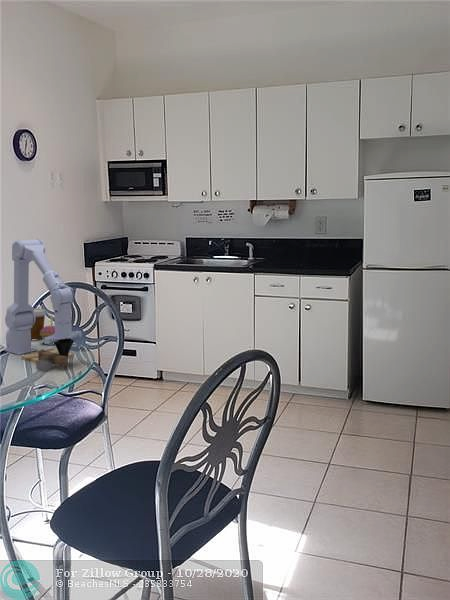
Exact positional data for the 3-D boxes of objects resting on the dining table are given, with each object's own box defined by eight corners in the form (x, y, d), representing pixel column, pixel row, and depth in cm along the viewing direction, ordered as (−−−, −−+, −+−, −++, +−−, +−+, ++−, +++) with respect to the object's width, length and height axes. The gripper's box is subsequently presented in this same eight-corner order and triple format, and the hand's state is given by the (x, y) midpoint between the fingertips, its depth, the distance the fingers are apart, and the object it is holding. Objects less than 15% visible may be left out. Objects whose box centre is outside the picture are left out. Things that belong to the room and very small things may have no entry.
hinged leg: (36, 359, 218) (36, 349, 218) (43, 357, 220) (43, 348, 220) (61, 366, 210) (61, 356, 209) (68, 365, 212) (68, 355, 212)
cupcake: (44, 340, 251) (43, 311, 249) (64, 341, 251) (63, 312, 249) (37, 345, 243) (36, 316, 241) (58, 346, 243) (57, 316, 240)
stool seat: (21, 358, 224) (21, 355, 224) (53, 351, 235) (53, 348, 235) (41, 365, 217) (41, 361, 216) (73, 357, 228) (73, 354, 227)
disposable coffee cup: (39, 342, 248) (38, 313, 246) (18, 340, 250) (17, 311, 248) (50, 337, 257) (50, 309, 255) (29, 335, 259) (29, 307, 257)
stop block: (36, 368, 212) (36, 360, 212) (45, 366, 215) (44, 358, 214) (45, 371, 209) (44, 363, 209) (53, 369, 212) (53, 361, 211)
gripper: (52, 327, 206) (53, 366, 208) (86, 320, 217) (87, 357, 219) (40, 324, 210) (41, 362, 212) (74, 317, 221) (74, 354, 224)
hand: (63, 359), depth 216 cm, fingers closed
